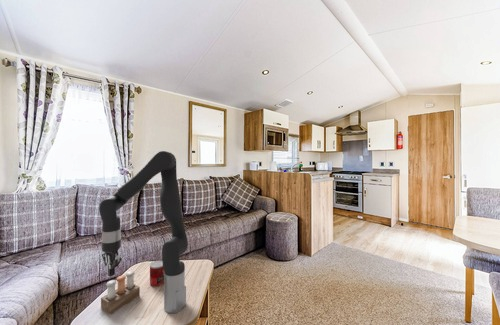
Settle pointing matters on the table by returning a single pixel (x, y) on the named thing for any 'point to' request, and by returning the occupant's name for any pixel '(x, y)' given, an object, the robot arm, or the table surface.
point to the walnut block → (120, 299)
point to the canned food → (156, 273)
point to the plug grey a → (111, 289)
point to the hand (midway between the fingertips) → (111, 275)
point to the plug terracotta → (121, 284)
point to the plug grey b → (130, 279)
